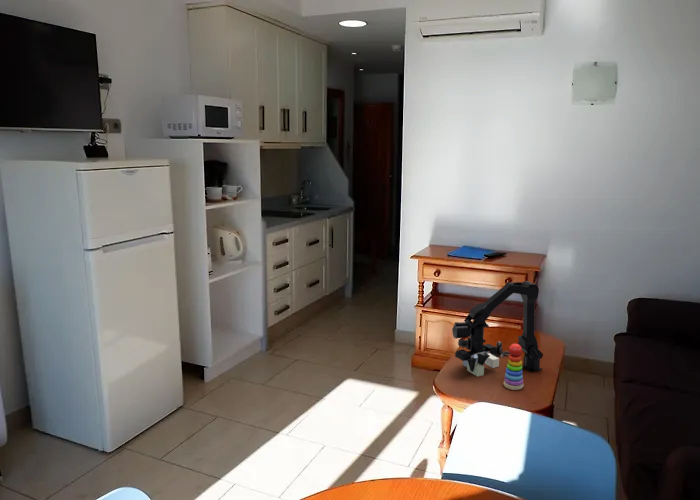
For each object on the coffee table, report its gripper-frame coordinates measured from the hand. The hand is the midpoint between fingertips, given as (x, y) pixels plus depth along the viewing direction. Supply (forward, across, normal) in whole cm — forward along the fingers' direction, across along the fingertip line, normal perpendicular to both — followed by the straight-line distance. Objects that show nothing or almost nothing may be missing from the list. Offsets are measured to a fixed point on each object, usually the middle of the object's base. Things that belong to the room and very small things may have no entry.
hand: (475, 370), depth 237 cm
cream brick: (+1, -12, -4) cm, 13 cm away
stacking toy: (+1, -5, +18) cm, 19 cm away
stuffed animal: (+2, -25, -13) cm, 28 cm away
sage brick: (+1, 0, 0) cm, 1 cm away
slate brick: (+1, -4, -8) cm, 9 cm away
